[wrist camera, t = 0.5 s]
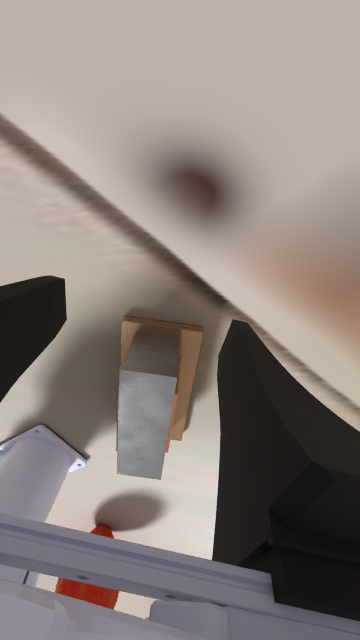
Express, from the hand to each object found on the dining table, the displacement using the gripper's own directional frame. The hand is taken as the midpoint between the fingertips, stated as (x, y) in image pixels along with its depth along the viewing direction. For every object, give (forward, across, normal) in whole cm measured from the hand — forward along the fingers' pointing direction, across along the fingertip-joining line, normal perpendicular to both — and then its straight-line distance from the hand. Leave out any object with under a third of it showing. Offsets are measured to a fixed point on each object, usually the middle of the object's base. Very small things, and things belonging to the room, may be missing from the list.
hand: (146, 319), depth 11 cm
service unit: (+9, -1, +13) cm, 16 cm away
